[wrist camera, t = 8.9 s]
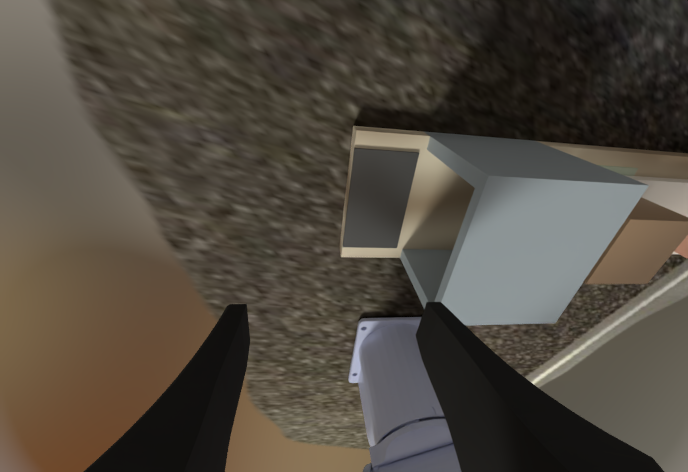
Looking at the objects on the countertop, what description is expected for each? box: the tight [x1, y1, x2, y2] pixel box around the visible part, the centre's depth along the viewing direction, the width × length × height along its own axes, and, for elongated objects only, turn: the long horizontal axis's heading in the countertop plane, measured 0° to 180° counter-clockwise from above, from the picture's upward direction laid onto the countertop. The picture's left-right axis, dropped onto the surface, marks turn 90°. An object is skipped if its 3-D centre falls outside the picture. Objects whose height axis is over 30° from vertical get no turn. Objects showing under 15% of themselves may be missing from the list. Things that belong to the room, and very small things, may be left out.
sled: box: [584, 175, 688, 284], centre depth 20 cm, size 6×17×5 cm, turn 84°
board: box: [340, 126, 688, 258], centre depth 22 cm, size 9×27×1 cm, turn 84°
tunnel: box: [400, 132, 649, 325], centre depth 18 cm, size 9×8×8 cm
